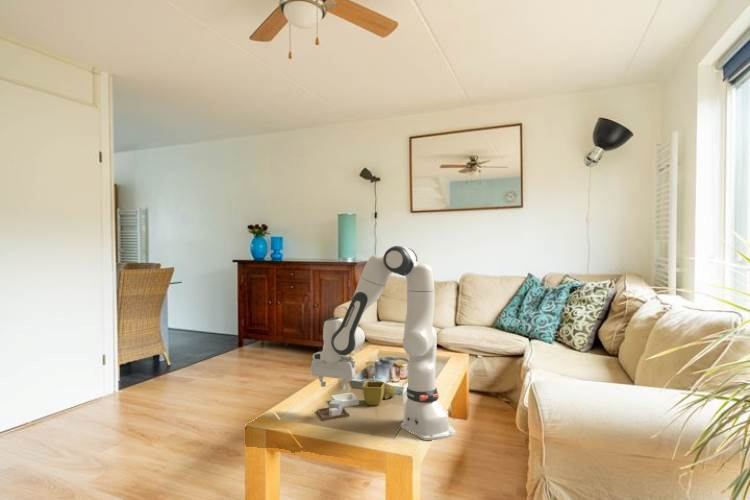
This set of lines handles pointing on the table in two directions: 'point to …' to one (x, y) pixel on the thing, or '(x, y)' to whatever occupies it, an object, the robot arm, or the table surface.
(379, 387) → the flower pot
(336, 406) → the pebble
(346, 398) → the grey bin
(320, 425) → the table surface
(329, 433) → the table surface
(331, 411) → the small pebble
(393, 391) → the seashell
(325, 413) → the gravel tray
